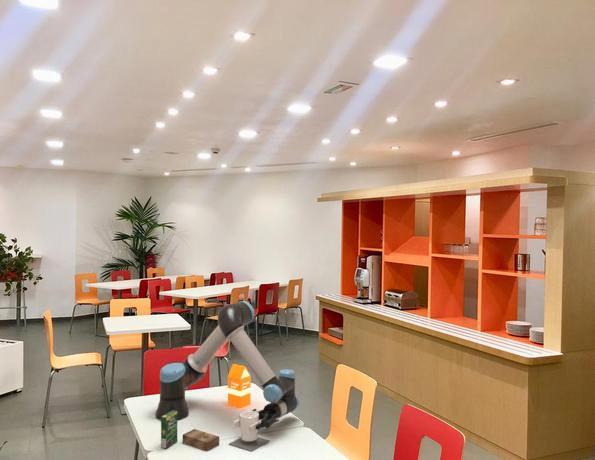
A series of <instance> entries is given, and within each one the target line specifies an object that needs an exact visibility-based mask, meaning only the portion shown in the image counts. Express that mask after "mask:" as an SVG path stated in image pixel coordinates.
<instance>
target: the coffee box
mask: <svg viewBox="0 0 595 460" xmlns="http://www.w3.org/2000/svg"><path fill="white" fill-rule="evenodd" d="M160 432H161V433H160V447H161V449H163V448H164V450H167V449H169V448H170V447H171V446H173V445H174V444H176V443H177V442H178V420H177V411H174V410H172V411H170V412H169V413H167V414H165V415H164V416H162V417H161V420H160Z"/></svg>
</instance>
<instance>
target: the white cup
mask: <svg viewBox="0 0 595 460" xmlns="http://www.w3.org/2000/svg"><path fill="white" fill-rule="evenodd" d="M239 419H240V426H239V428H240V437H241V439H242V440H244V441H254V440H256V439H257V438H258V437H259V436H258V435H259V432H258V431H259V429H258V430H256V431H254V432H252V433H249V426H251V425H253V424H254V423H257V422H258V421H260V420H259V413H258V412H255V411H252V410H244V411H242V412H240V414H239Z"/></svg>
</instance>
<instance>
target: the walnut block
mask: <svg viewBox="0 0 595 460" xmlns="http://www.w3.org/2000/svg"><path fill="white" fill-rule="evenodd" d="M182 444H184V445H187V446H191V447H192V448H193V447H194V448H196V449H200V450H202V451H206V452H209V451H211V450H213V449H215V448H216V447H218V446H220V436H219V435H215V434H212V433H210V432H206V431H202V430H199V429H196V428H193V429H192V430H190V431H187V432H186V433H183V434H182Z"/></svg>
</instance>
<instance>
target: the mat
mask: <svg viewBox="0 0 595 460" xmlns="http://www.w3.org/2000/svg"><path fill="white" fill-rule="evenodd" d="M269 442H270V439H266V438H262V437H259V436H258V438H257V439H256V440H254V441H244V440H242V439H241V436H240V437H238V438H236V439H235V440H233V441H231V442H230V443H228V445H229V446H232V447H235V448H238V449H242V450H244V451H248V452H251V453H252V452H254V451H255V450H258V449H259V448H261V447H262V446H264V445H266V444H267V443H269Z"/></svg>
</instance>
